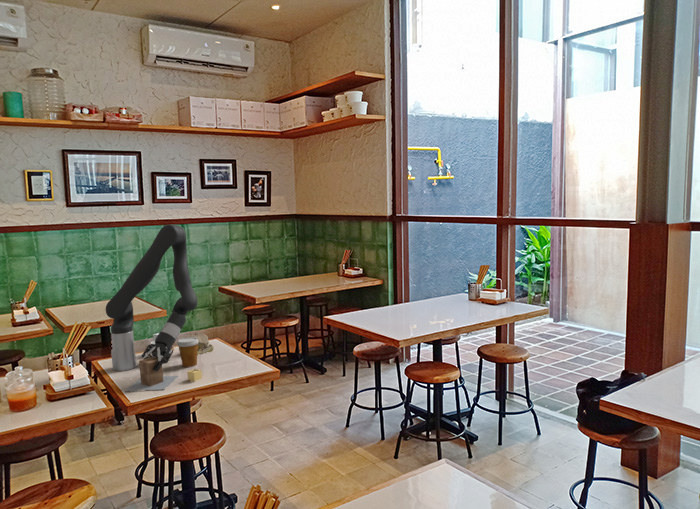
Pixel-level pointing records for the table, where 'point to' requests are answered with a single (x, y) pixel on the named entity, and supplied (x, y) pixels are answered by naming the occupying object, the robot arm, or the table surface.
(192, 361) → the disposable coffee cup
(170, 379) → the grey mat
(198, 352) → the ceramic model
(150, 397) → the table surface
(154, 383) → the walnut block
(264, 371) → the table surface
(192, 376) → the letter cube
